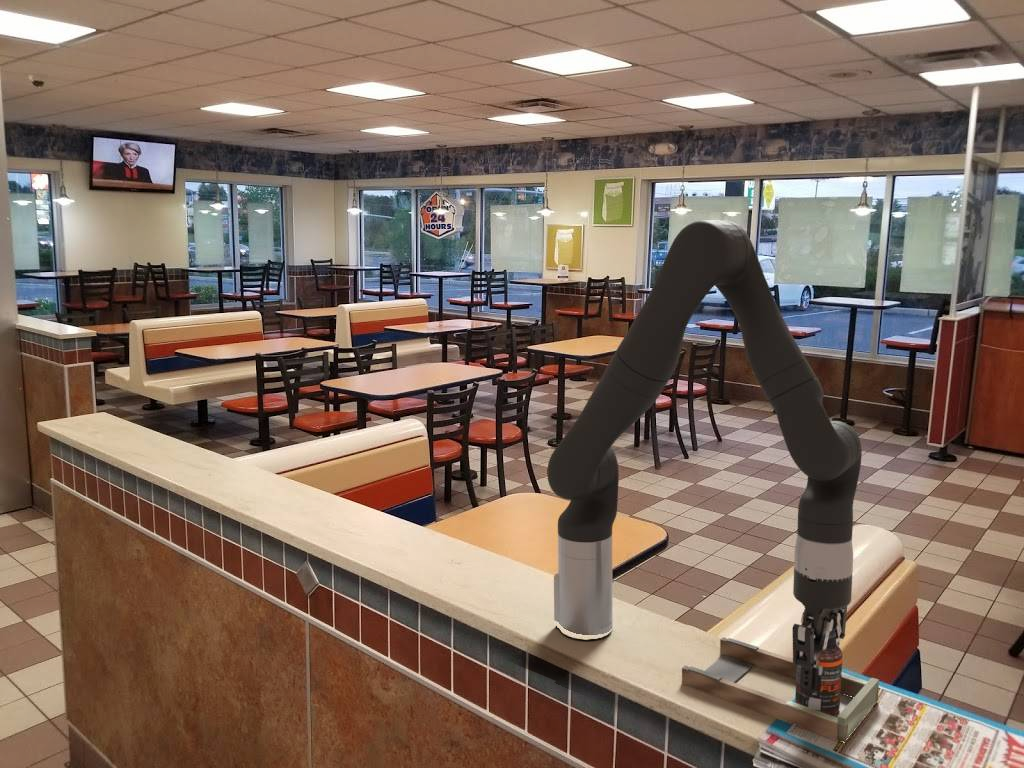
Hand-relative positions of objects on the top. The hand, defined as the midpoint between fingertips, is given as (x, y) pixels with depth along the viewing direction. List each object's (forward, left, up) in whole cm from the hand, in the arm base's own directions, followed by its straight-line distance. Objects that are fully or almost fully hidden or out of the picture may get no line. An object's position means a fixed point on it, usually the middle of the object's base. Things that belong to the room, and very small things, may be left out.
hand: (818, 680), depth 114 cm
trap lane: (-6, 0, -4) cm, 7 cm away
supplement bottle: (0, 0, -4) cm, 4 cm away
